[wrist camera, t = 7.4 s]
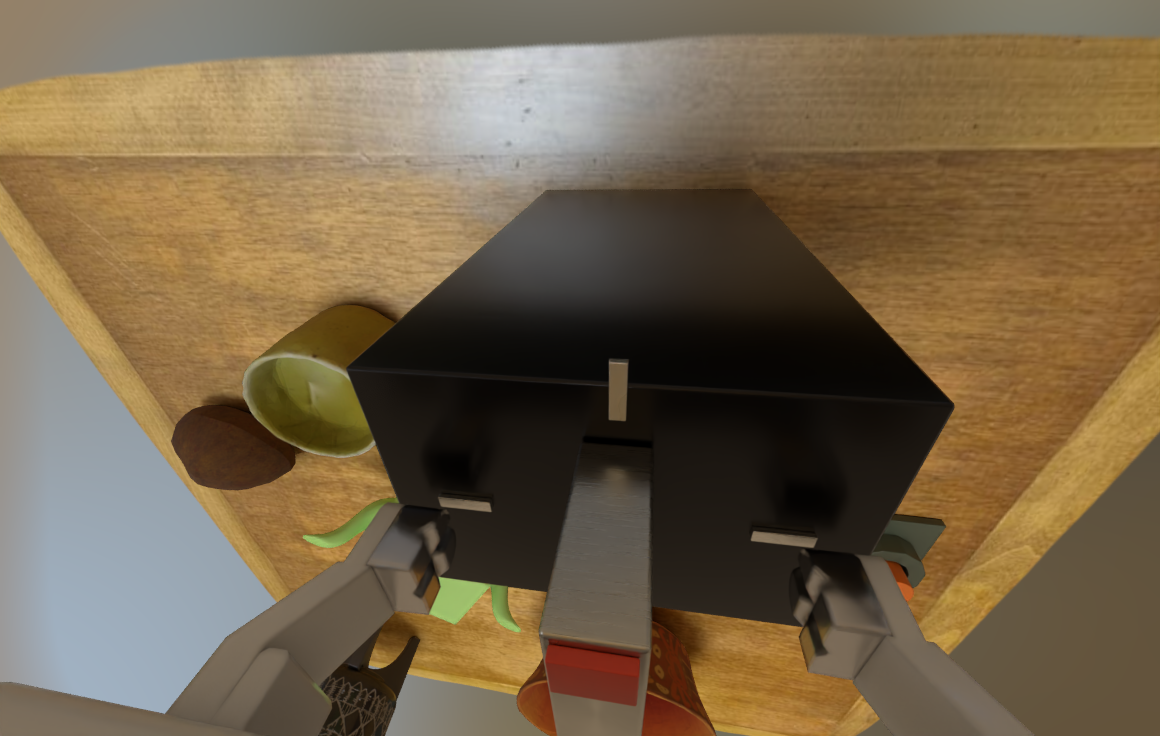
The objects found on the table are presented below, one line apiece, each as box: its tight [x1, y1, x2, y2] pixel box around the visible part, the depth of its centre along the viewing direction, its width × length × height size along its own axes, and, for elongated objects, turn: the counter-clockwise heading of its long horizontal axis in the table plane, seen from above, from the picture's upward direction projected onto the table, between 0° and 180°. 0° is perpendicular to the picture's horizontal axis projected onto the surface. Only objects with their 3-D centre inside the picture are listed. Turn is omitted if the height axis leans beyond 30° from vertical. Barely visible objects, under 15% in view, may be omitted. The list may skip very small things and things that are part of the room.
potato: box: [171, 405, 295, 490], centre depth 39 cm, size 7×10×7 cm
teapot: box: [303, 497, 521, 632], centre depth 39 cm, size 15×13×11 cm
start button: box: [885, 560, 914, 602], centre depth 36 cm, size 4×4×2 cm
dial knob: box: [539, 442, 654, 736], centre depth 9 cm, size 5×2×4 cm, turn 2°
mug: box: [242, 305, 395, 458], centre depth 32 cm, size 12×10×10 cm
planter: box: [318, 625, 420, 736], centre depth 55 cm, size 13×13×18 cm
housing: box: [871, 515, 946, 588], centre depth 37 cm, size 10×8×2 cm
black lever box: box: [346, 189, 954, 627], centre depth 19 cm, size 12×9×20 cm
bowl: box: [517, 621, 716, 736], centre depth 49 cm, size 21×21×10 cm
